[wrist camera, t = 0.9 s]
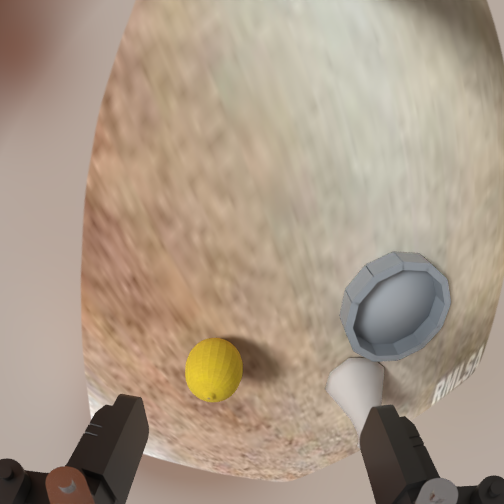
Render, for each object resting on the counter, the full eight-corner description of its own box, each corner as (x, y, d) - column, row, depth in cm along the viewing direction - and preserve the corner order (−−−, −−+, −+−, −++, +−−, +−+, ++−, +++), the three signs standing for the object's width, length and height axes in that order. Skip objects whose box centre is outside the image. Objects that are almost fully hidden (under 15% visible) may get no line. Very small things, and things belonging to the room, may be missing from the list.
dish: (352, 248, 28) (360, 259, 26) (451, 256, 28) (463, 265, 25) (331, 347, 32) (335, 362, 30) (420, 345, 32) (428, 358, 30)
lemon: (187, 352, 33) (171, 405, 26) (202, 315, 31) (187, 368, 24) (233, 368, 34) (227, 423, 26) (252, 334, 32) (250, 389, 24)
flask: (360, 400, 36) (378, 461, 26) (314, 390, 35) (324, 456, 25) (393, 362, 33) (421, 423, 24) (345, 348, 32) (367, 416, 23)
